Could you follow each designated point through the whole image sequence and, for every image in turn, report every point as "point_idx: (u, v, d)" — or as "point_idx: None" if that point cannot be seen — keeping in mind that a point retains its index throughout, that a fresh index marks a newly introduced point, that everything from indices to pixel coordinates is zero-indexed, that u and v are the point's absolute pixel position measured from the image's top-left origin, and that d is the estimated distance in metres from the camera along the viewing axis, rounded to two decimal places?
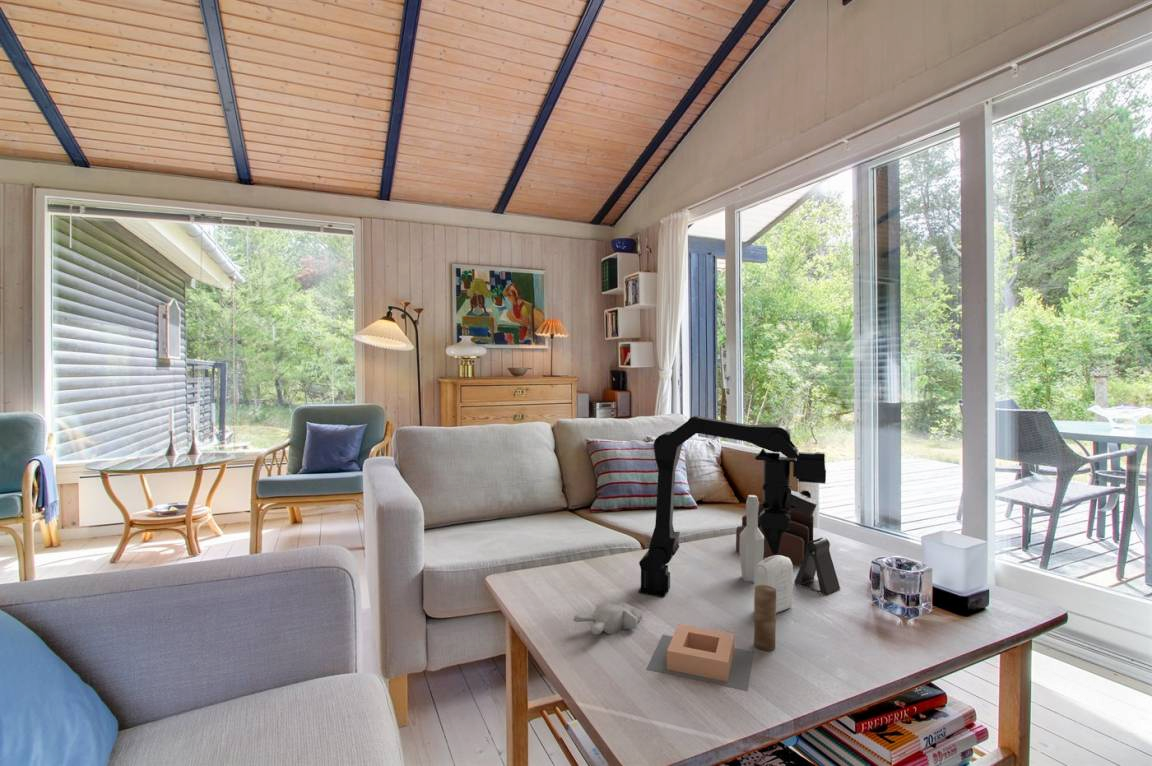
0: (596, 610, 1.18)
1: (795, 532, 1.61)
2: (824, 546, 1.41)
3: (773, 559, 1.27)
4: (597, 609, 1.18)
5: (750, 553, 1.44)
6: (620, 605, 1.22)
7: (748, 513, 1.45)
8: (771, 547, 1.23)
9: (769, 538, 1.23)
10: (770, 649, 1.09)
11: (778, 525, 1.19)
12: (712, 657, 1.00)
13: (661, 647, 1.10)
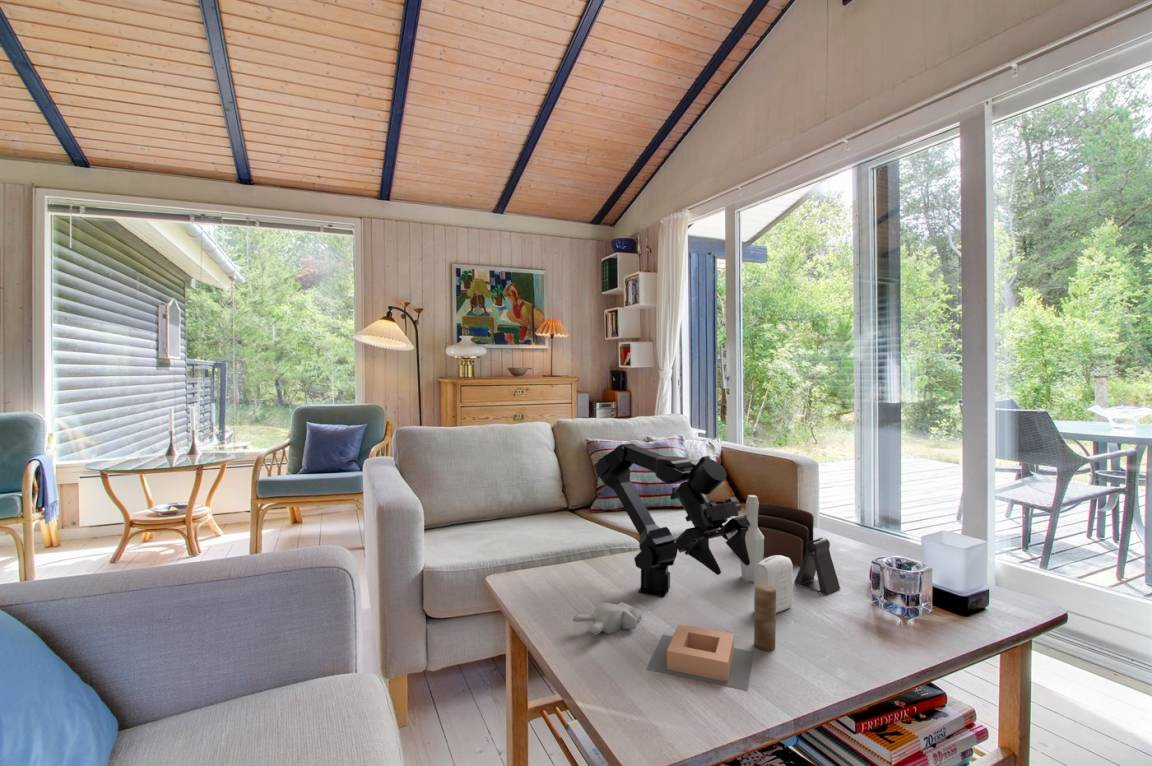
0: (595, 610, 1.19)
1: (795, 532, 1.61)
2: (824, 546, 1.41)
3: (773, 559, 1.27)
4: (596, 609, 1.18)
5: (750, 553, 1.44)
6: (620, 605, 1.22)
7: (748, 513, 1.45)
8: (711, 569, 1.16)
9: (703, 561, 1.17)
10: (770, 649, 1.09)
11: (686, 542, 1.16)
12: (712, 657, 1.00)
13: (661, 647, 1.10)
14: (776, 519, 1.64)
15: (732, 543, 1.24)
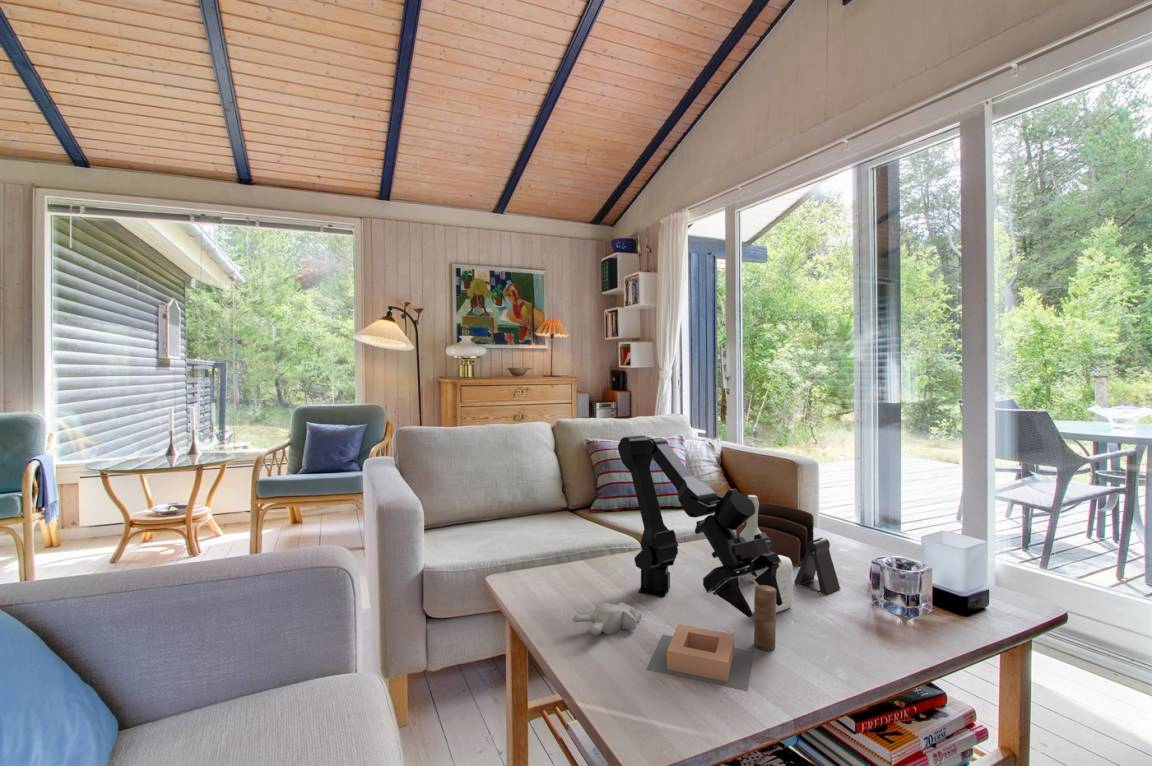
0: (595, 610, 1.18)
1: (794, 532, 1.61)
2: (824, 546, 1.41)
3: None
4: (596, 609, 1.18)
5: None
6: (619, 605, 1.22)
7: None
8: (742, 611, 1.09)
9: (733, 602, 1.10)
10: (770, 649, 1.09)
11: (715, 582, 1.10)
12: (712, 657, 1.00)
13: (661, 647, 1.10)
14: (776, 519, 1.65)
15: (762, 581, 1.18)
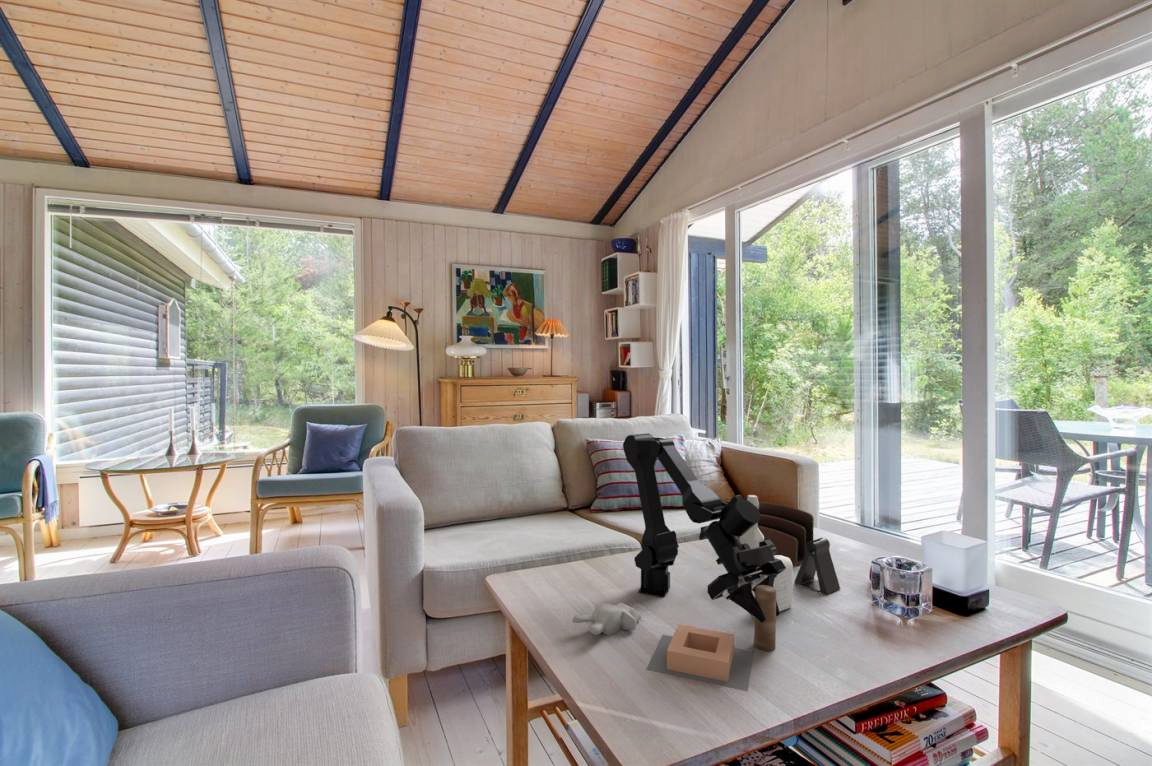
0: (595, 611, 1.18)
1: (793, 532, 1.61)
2: (824, 546, 1.41)
3: None
4: (596, 610, 1.18)
5: None
6: (619, 606, 1.22)
7: None
8: (755, 616, 1.10)
9: (745, 607, 1.11)
10: (770, 649, 1.09)
11: (719, 590, 1.09)
12: (712, 657, 1.00)
13: (661, 647, 1.10)
14: (776, 519, 1.65)
15: None
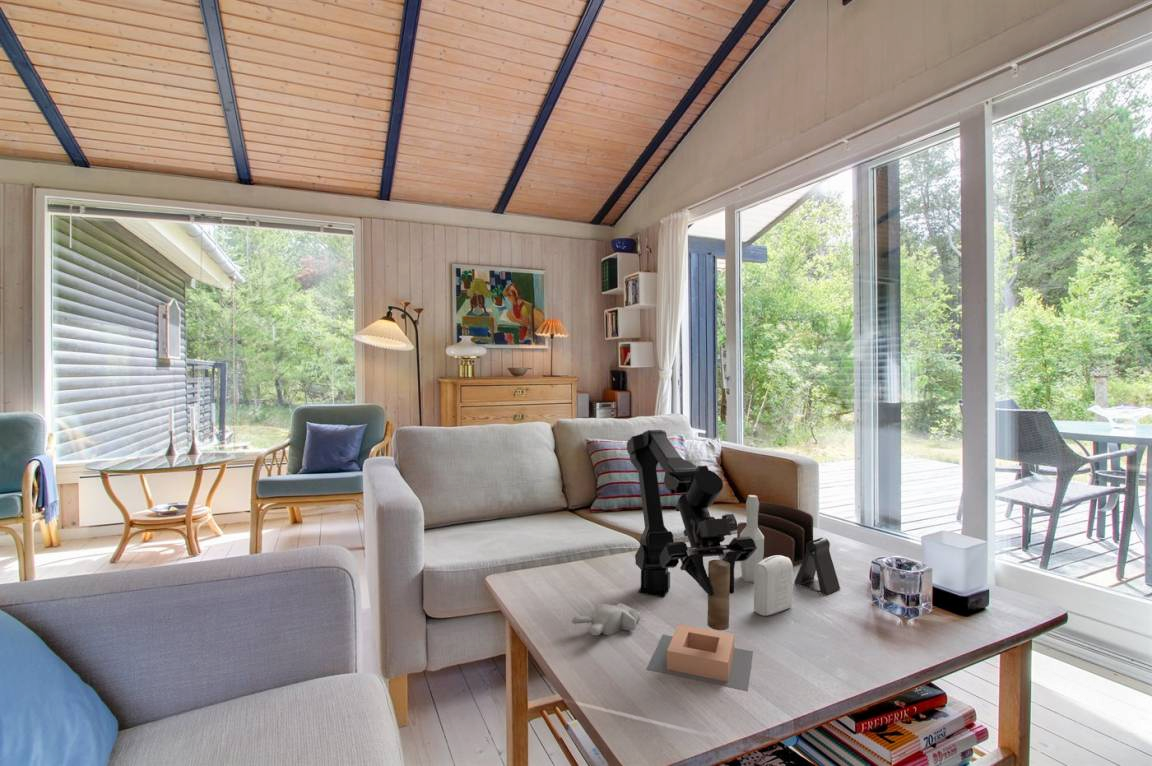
0: (594, 611, 1.18)
1: (792, 532, 1.61)
2: (824, 546, 1.41)
3: (773, 559, 1.27)
4: (595, 610, 1.18)
5: None
6: (618, 606, 1.21)
7: (748, 513, 1.45)
8: (704, 589, 1.06)
9: (697, 579, 1.07)
10: (719, 626, 1.04)
11: (665, 557, 1.07)
12: (712, 657, 1.00)
13: (661, 647, 1.10)
14: (775, 518, 1.65)
15: None
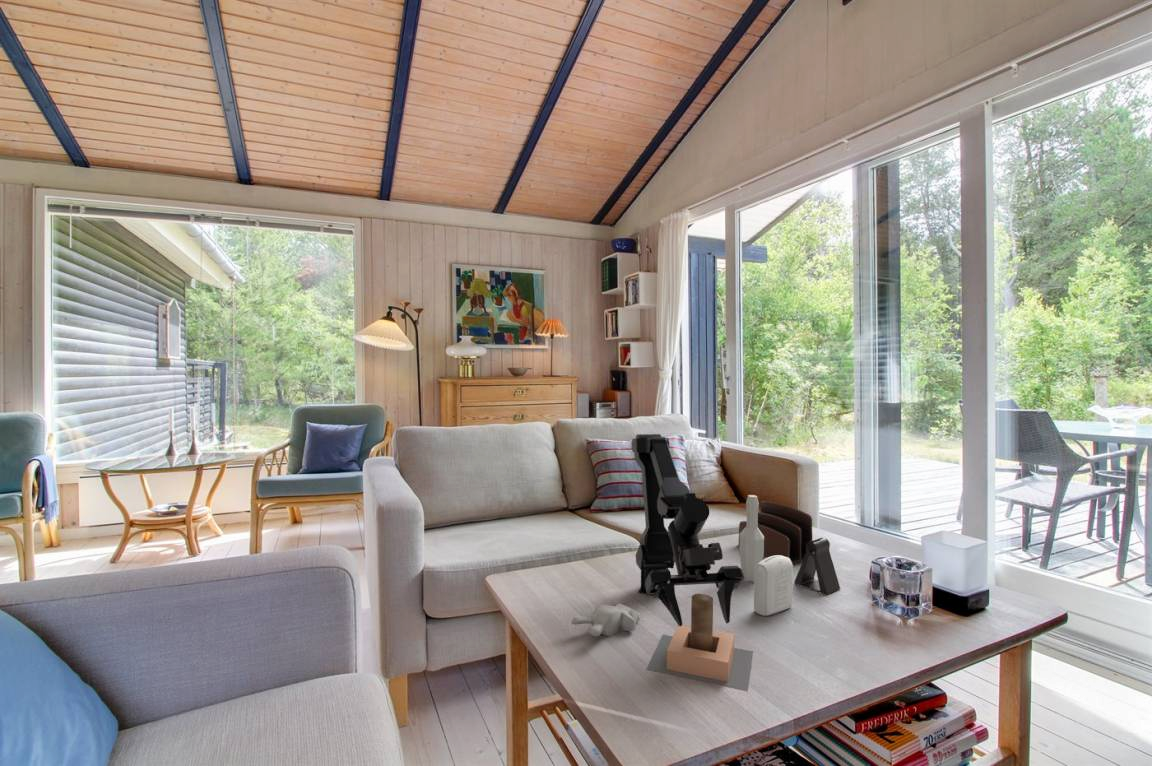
0: (594, 612, 1.17)
1: (790, 532, 1.61)
2: (824, 546, 1.41)
3: (773, 559, 1.27)
4: (595, 611, 1.17)
5: (750, 553, 1.44)
6: (618, 607, 1.21)
7: (748, 513, 1.45)
8: (675, 618, 1.05)
9: (669, 608, 1.07)
10: None
11: (649, 584, 1.08)
12: (712, 657, 1.00)
13: (661, 647, 1.10)
14: (775, 518, 1.65)
15: (720, 595, 1.10)
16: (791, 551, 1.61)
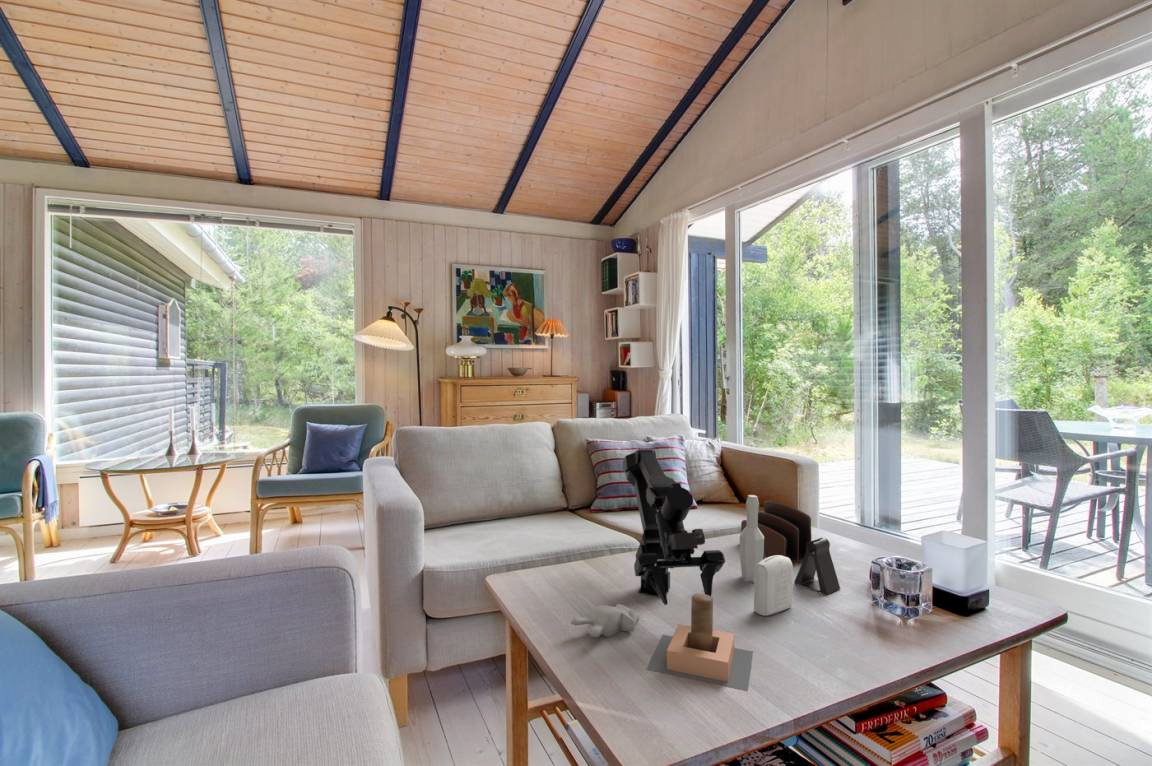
0: (594, 613, 1.17)
1: (788, 532, 1.61)
2: (824, 546, 1.41)
3: (773, 559, 1.27)
4: (595, 612, 1.17)
5: (750, 553, 1.44)
6: (617, 607, 1.21)
7: (748, 513, 1.45)
8: (660, 598, 1.14)
9: (655, 588, 1.16)
10: None
11: (637, 566, 1.17)
12: (712, 657, 1.00)
13: (661, 647, 1.10)
14: (775, 518, 1.66)
15: (703, 577, 1.19)
16: (789, 551, 1.61)
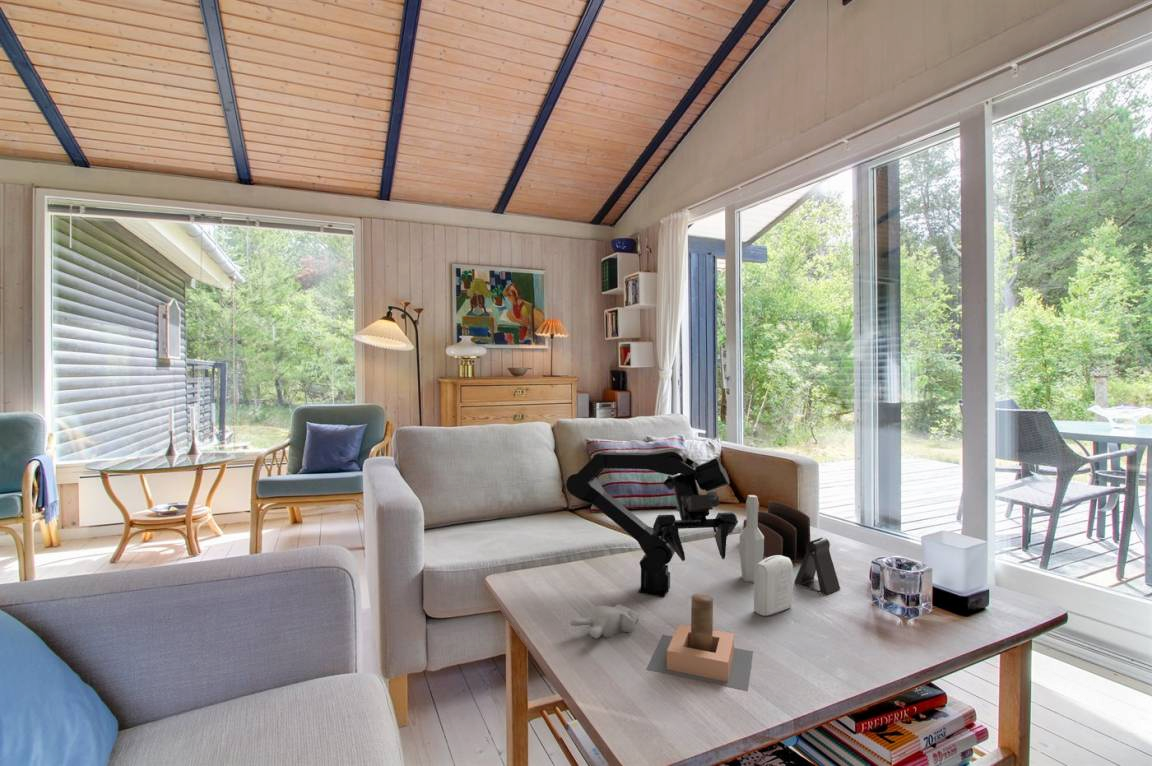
0: (593, 613, 1.17)
1: (787, 532, 1.61)
2: (824, 546, 1.41)
3: (773, 559, 1.27)
4: (594, 612, 1.17)
5: (750, 553, 1.44)
6: (617, 608, 1.21)
7: (748, 513, 1.45)
8: (678, 555, 1.24)
9: (673, 547, 1.25)
10: None
11: (656, 527, 1.26)
12: (712, 657, 1.00)
13: (661, 647, 1.10)
14: (776, 517, 1.66)
15: (717, 537, 1.28)
16: (788, 551, 1.61)
